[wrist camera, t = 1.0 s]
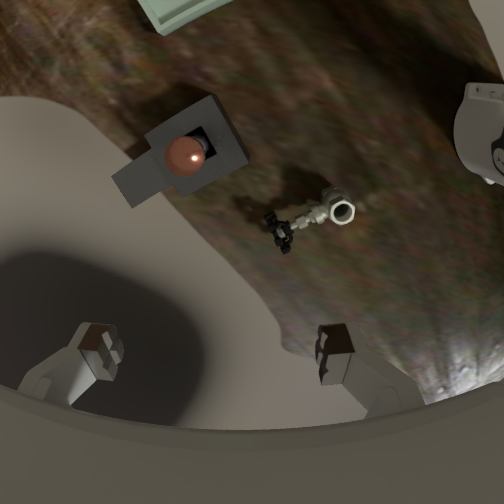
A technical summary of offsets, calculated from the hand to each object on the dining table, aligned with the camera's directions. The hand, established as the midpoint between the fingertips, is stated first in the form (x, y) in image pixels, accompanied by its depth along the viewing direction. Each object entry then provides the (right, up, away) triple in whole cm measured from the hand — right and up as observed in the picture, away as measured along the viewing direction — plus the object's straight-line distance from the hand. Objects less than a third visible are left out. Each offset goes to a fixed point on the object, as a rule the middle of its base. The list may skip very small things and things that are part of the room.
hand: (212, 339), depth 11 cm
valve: (+10, +10, +33) cm, 36 cm away
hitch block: (-9, +17, +29) cm, 35 cm away
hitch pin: (-5, +19, +28) cm, 34 cm away
